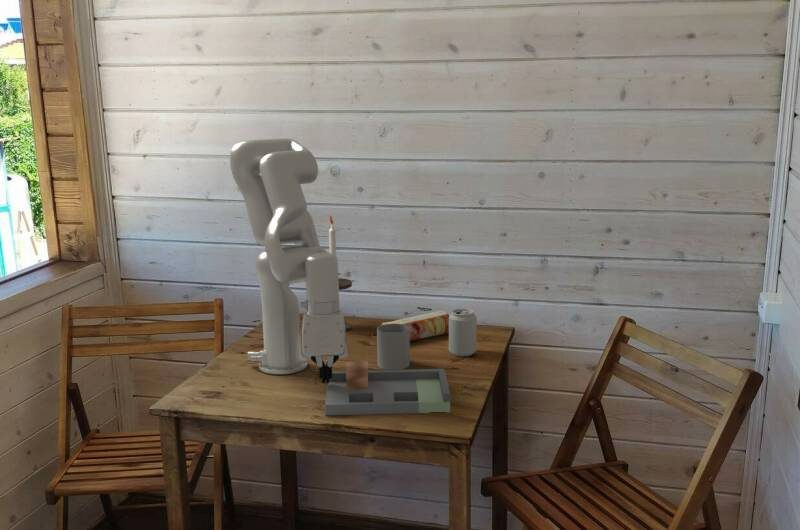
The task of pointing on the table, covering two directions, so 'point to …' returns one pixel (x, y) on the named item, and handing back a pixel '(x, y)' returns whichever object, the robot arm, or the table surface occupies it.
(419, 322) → the snack package
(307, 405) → the table surface
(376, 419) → the table surface
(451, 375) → the table surface
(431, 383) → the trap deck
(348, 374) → the block
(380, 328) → the cup
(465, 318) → the can
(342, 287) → the candlestick
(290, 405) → the table surface
